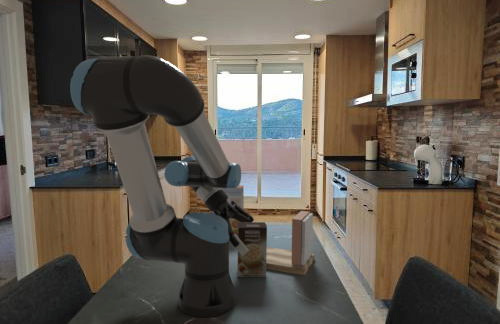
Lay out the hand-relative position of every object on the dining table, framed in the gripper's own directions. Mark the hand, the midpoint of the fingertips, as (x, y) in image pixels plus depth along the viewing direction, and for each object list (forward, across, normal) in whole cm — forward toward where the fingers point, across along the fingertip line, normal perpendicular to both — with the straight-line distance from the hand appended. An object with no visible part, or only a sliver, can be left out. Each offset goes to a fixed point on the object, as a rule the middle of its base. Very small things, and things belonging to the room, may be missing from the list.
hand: (254, 246), depth 107 cm
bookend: (+14, -11, +5) cm, 18 cm away
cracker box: (-12, -33, -25) cm, 43 cm away
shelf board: (+11, -11, -1) cm, 16 cm away
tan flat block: (+13, -11, +4) cm, 18 cm away
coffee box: (+6, +1, -7) cm, 9 cm away
